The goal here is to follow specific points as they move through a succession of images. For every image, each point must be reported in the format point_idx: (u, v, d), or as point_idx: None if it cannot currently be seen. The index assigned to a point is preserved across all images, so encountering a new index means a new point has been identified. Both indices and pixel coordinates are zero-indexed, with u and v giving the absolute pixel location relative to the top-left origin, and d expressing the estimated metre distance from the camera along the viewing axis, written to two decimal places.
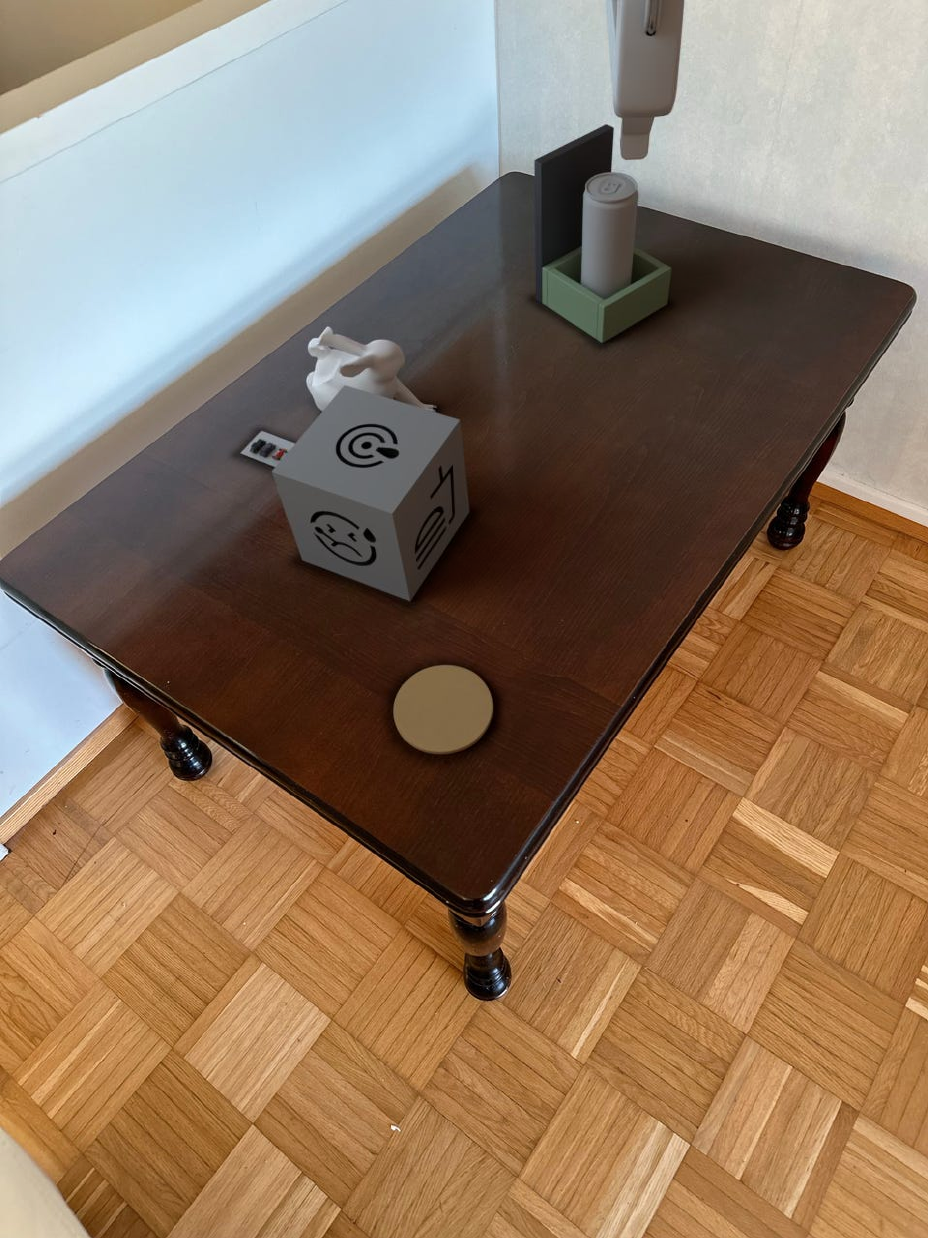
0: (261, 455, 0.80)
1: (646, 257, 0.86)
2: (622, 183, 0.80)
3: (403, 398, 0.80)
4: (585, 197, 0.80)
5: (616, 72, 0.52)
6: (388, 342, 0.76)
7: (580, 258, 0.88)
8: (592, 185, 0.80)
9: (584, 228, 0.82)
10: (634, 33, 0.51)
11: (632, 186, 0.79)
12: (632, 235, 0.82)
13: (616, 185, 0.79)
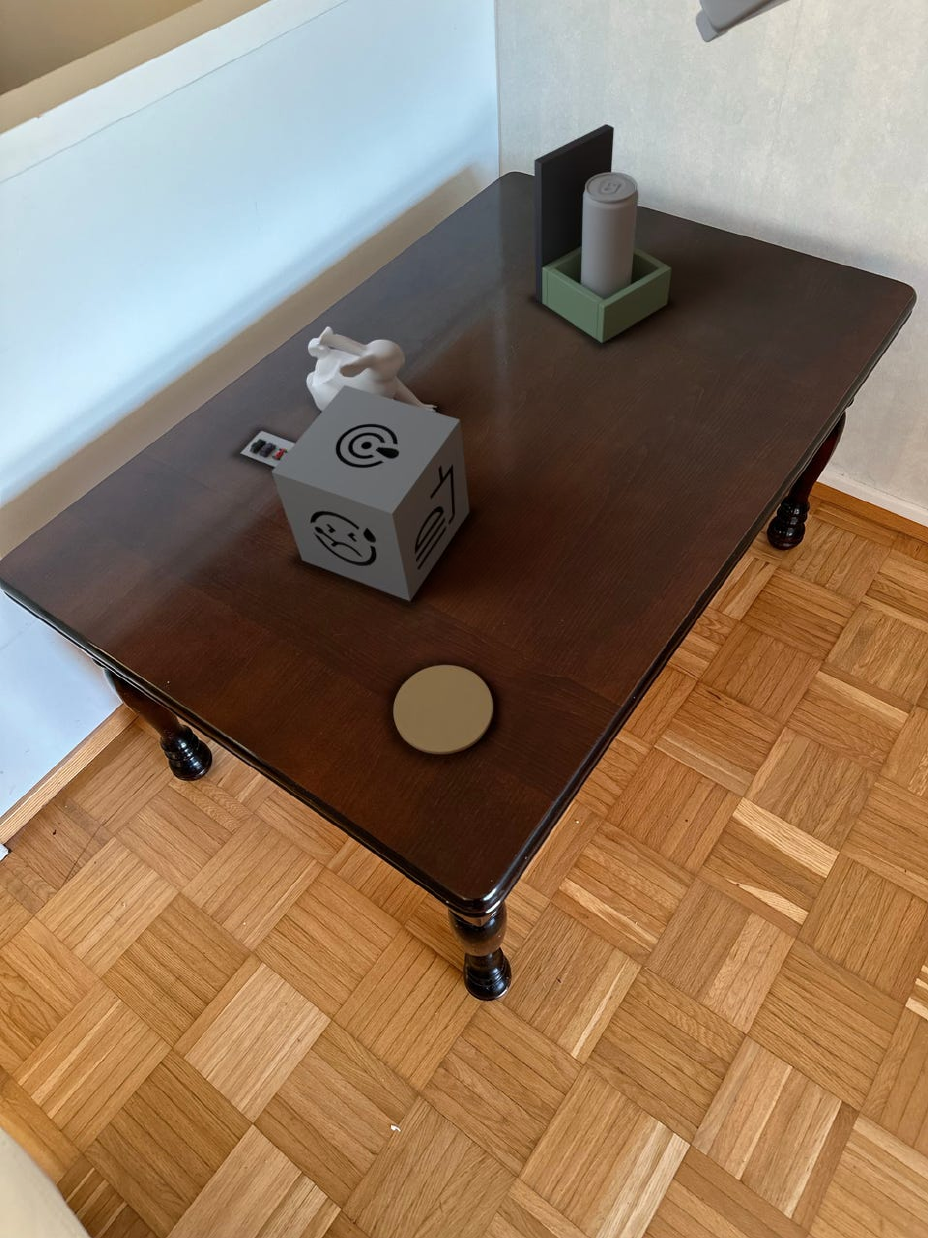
0: (261, 455, 0.80)
1: (646, 257, 0.86)
2: (622, 183, 0.80)
3: (403, 398, 0.80)
4: (585, 197, 0.80)
5: None
6: (388, 342, 0.76)
7: (580, 258, 0.88)
8: (592, 185, 0.80)
9: (584, 228, 0.82)
10: None
11: (632, 186, 0.79)
12: (632, 235, 0.82)
13: (616, 185, 0.79)
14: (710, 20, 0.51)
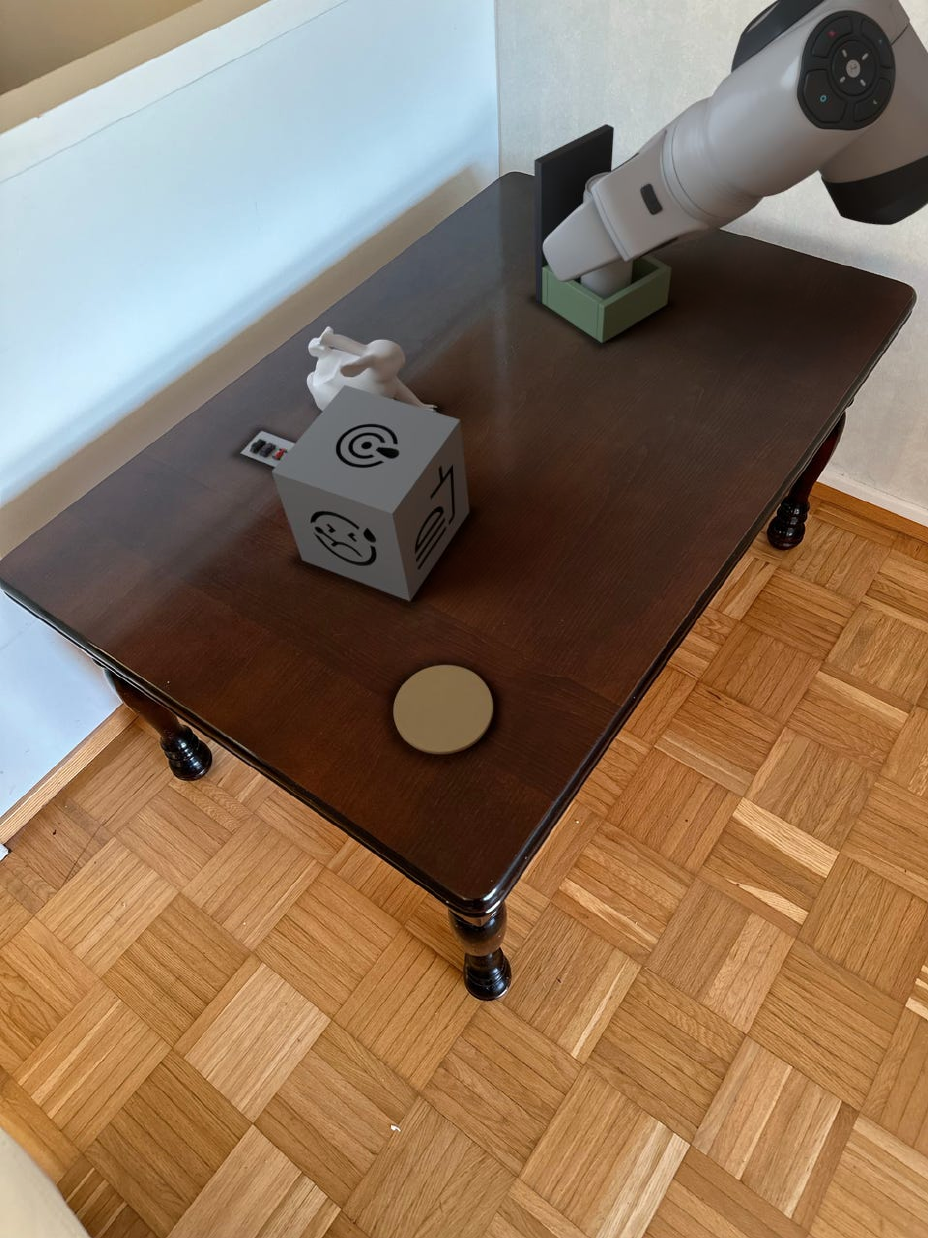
0: (261, 455, 0.80)
1: (646, 257, 0.86)
2: None
3: (404, 398, 0.80)
4: (585, 197, 0.80)
5: None
6: (389, 342, 0.76)
7: None
8: (592, 185, 0.80)
9: None
10: None
11: None
12: None
13: None
14: (555, 275, 0.76)
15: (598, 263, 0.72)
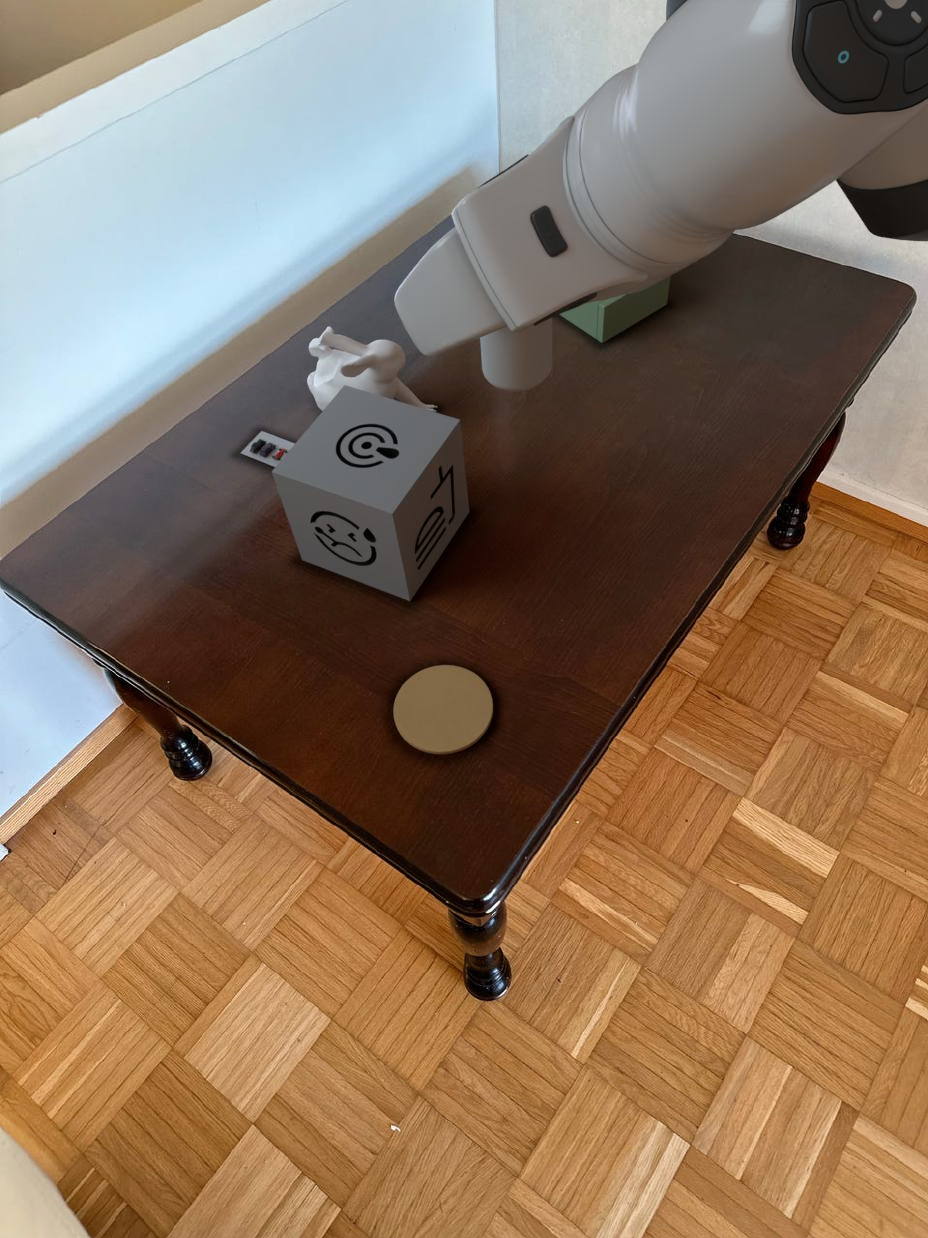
0: (261, 455, 0.80)
1: None
2: None
3: (404, 398, 0.80)
4: None
5: None
6: (389, 342, 0.76)
7: None
8: None
9: None
10: None
11: None
12: None
13: None
14: (416, 346, 0.49)
15: (471, 332, 0.45)
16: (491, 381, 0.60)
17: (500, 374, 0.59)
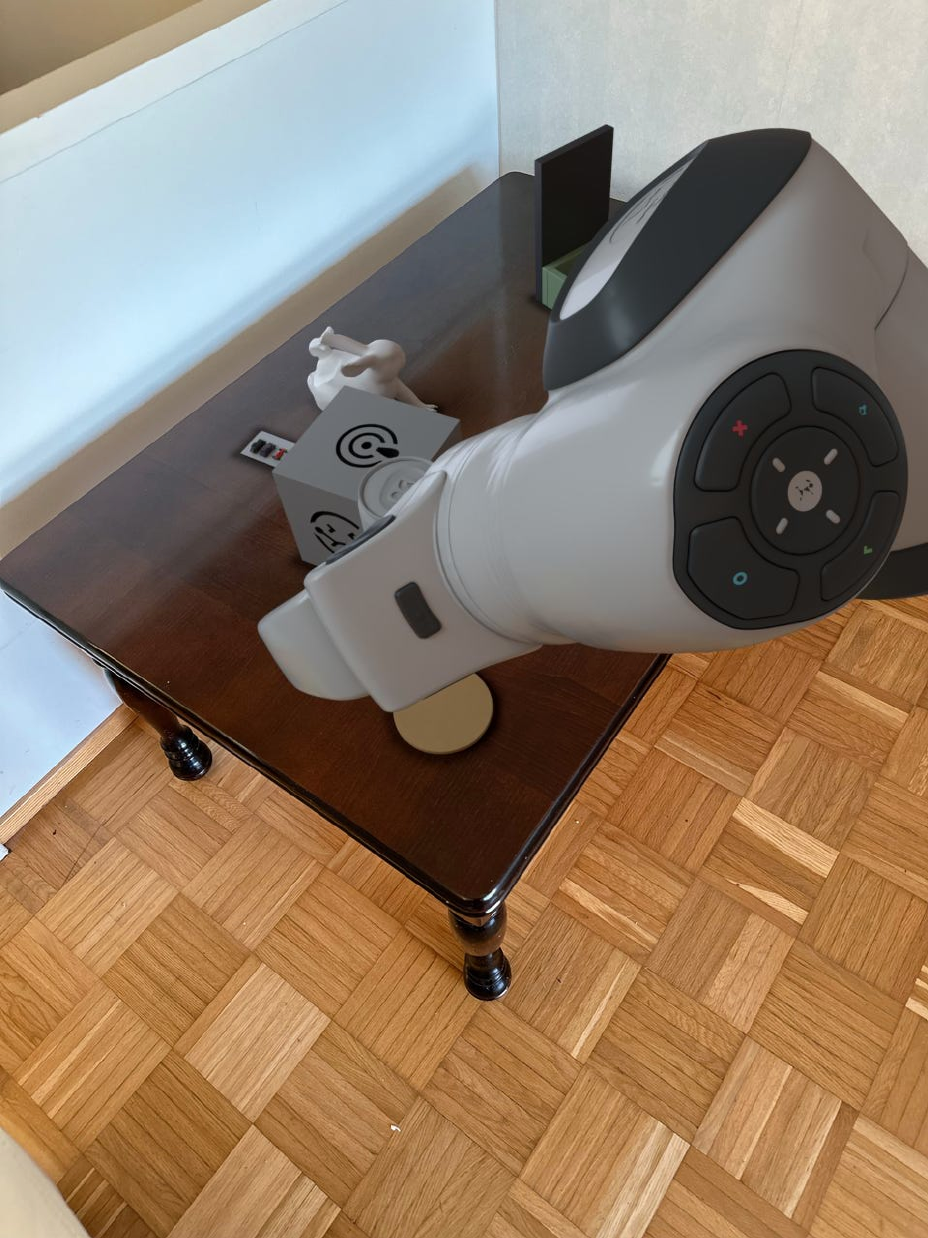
0: (261, 455, 0.80)
1: None
2: None
3: (404, 398, 0.80)
4: (359, 506, 0.45)
5: None
6: (389, 342, 0.76)
7: None
8: (372, 484, 0.46)
9: None
10: None
11: None
12: None
13: None
14: (286, 676, 0.42)
15: (338, 697, 0.38)
16: None
17: None
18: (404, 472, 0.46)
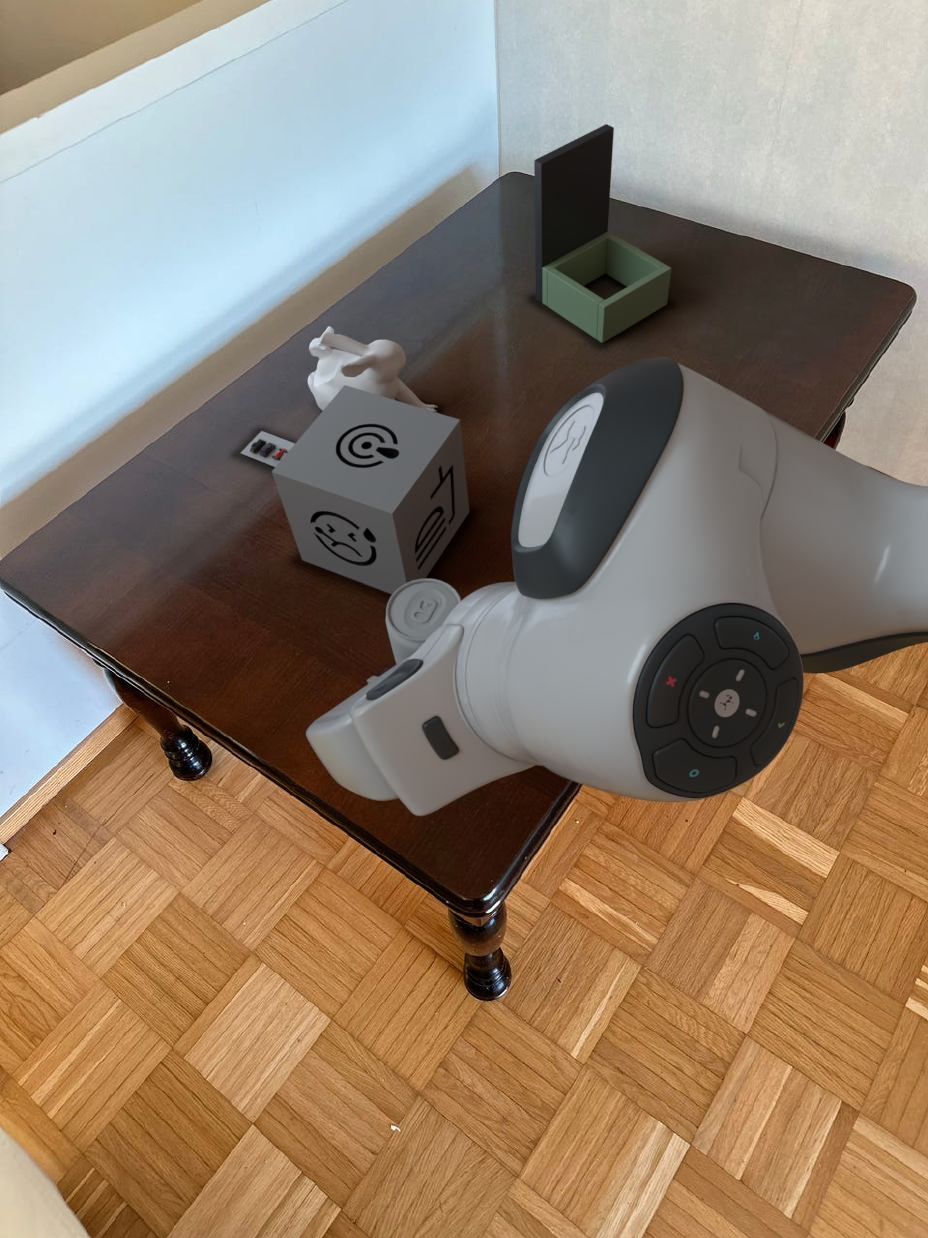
0: (261, 455, 0.80)
1: (646, 257, 0.86)
2: (442, 602, 0.54)
3: (405, 398, 0.80)
4: (387, 622, 0.54)
5: None
6: (389, 342, 0.76)
7: (580, 258, 0.88)
8: (397, 604, 0.54)
9: (393, 652, 0.56)
10: None
11: None
12: None
13: (431, 606, 0.54)
14: (328, 771, 0.51)
15: (374, 798, 0.46)
16: None
17: None
18: (425, 593, 0.54)
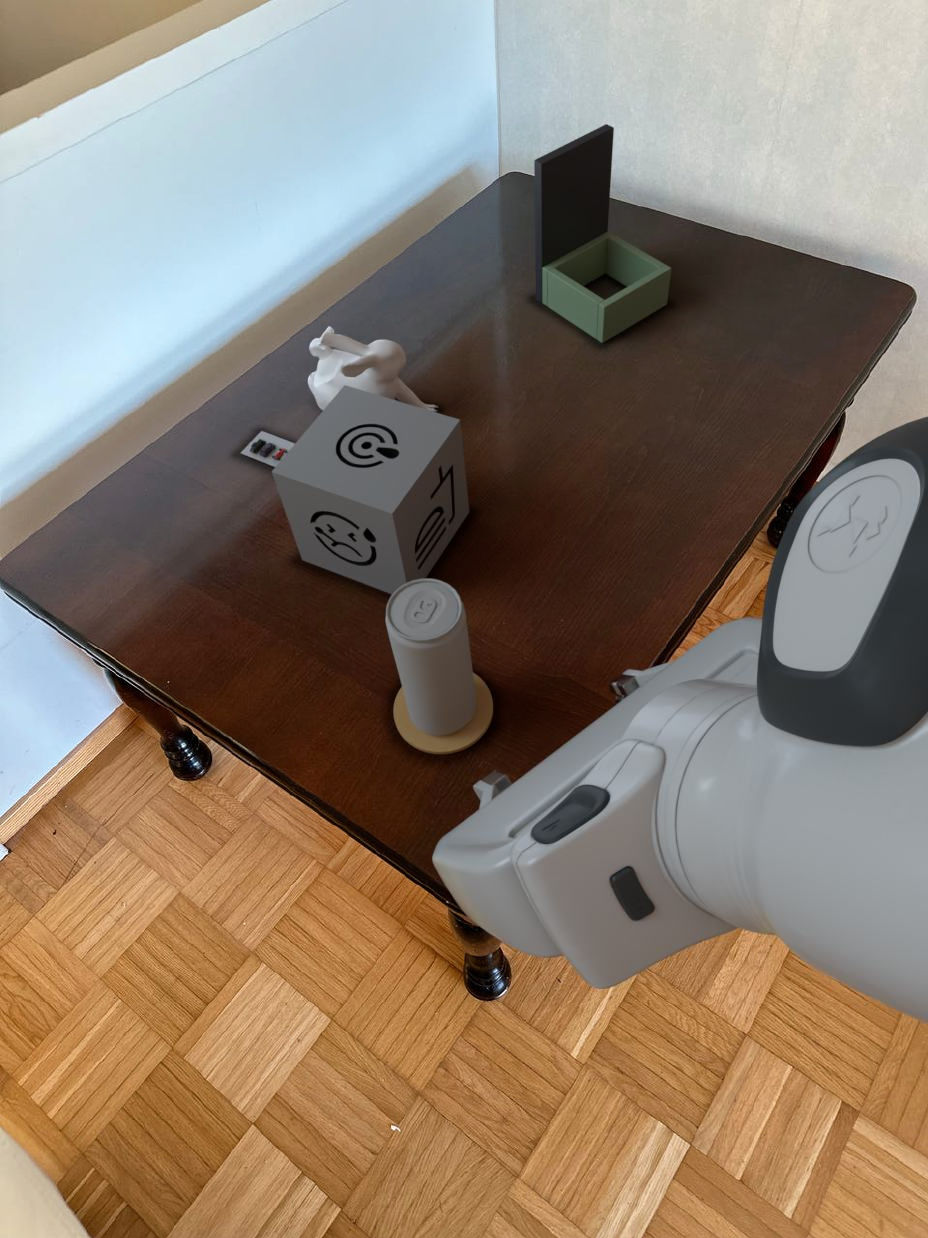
0: (261, 455, 0.80)
1: (646, 257, 0.86)
2: (442, 602, 0.54)
3: (405, 398, 0.80)
4: (387, 622, 0.54)
5: None
6: (390, 342, 0.76)
7: (580, 258, 0.88)
8: (397, 604, 0.54)
9: (393, 652, 0.56)
10: None
11: (455, 609, 0.54)
12: (462, 662, 0.56)
13: (431, 606, 0.54)
14: (457, 902, 0.41)
15: (529, 953, 0.36)
16: (416, 726, 0.62)
17: (424, 725, 0.61)
18: (424, 593, 0.54)
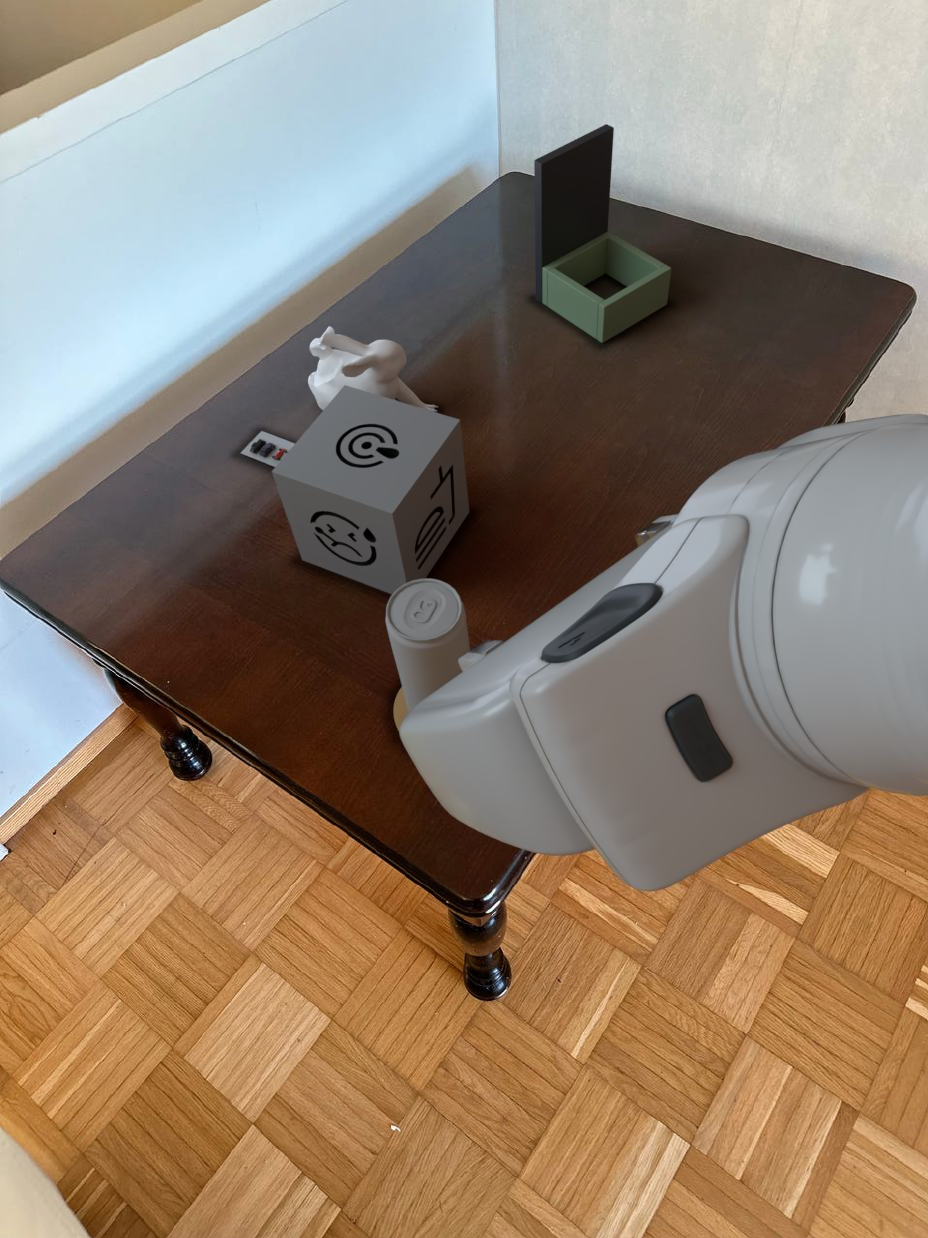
0: (261, 455, 0.80)
1: (646, 257, 0.86)
2: (442, 602, 0.54)
3: (405, 398, 0.80)
4: (387, 622, 0.54)
5: None
6: (390, 342, 0.76)
7: (580, 258, 0.88)
8: (397, 604, 0.54)
9: (393, 652, 0.56)
10: None
11: (455, 609, 0.54)
12: None
13: (431, 606, 0.54)
14: (436, 796, 0.29)
15: (540, 851, 0.25)
16: None
17: None
18: (424, 593, 0.54)
